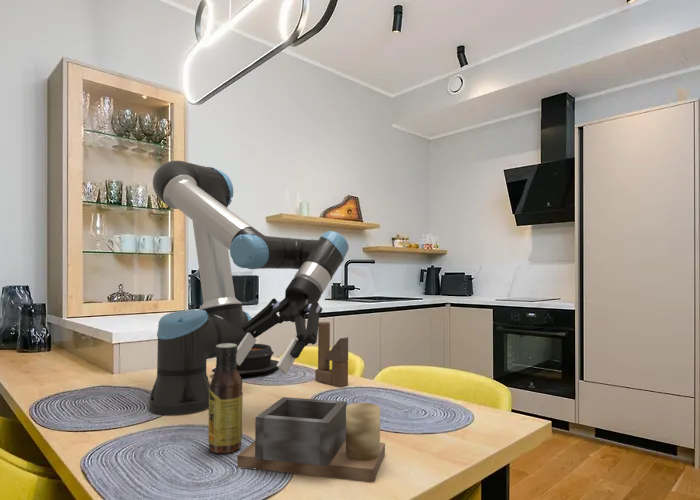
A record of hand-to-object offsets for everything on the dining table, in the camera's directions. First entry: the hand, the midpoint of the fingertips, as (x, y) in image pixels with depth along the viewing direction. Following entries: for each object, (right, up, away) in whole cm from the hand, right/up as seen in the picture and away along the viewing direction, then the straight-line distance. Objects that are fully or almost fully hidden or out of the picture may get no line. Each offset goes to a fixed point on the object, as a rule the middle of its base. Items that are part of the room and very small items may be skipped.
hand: (257, 365), depth 95 cm
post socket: (+12, -15, -9) cm, 21 cm away
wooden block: (+13, -17, +48) cm, 52 cm away
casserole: (-15, -18, +63) cm, 67 cm away
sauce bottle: (-5, -15, -4) cm, 17 cm away
